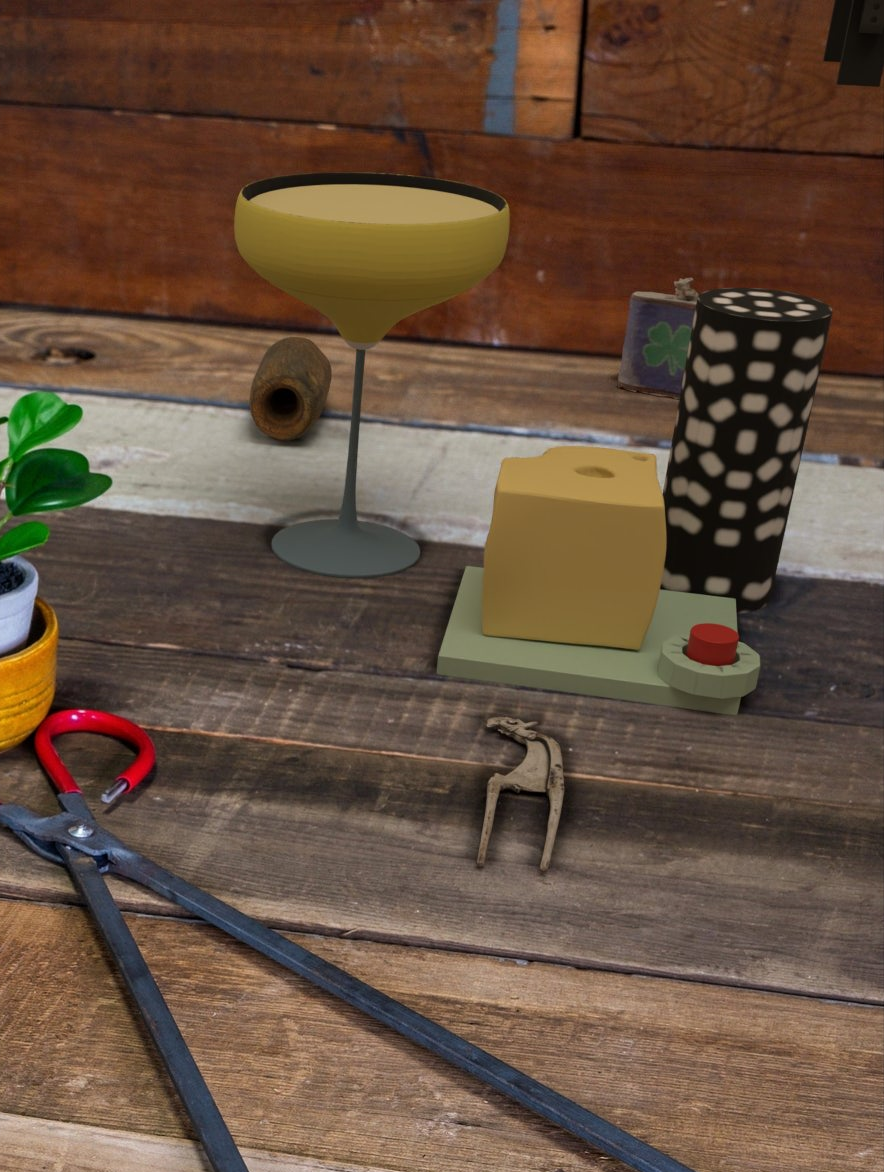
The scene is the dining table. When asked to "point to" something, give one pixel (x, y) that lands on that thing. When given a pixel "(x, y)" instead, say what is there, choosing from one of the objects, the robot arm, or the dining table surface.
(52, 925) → the dining table surface
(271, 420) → the brown hollow cylinder
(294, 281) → the cocktail glass
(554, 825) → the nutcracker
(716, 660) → the button
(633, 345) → the flask
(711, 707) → the scale
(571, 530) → the cheese
